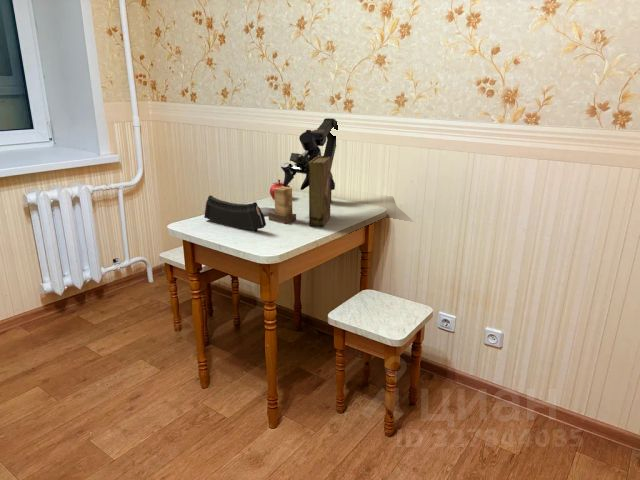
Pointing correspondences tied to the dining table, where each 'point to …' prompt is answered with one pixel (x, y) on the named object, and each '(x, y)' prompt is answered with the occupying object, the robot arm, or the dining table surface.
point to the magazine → (234, 214)
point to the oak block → (283, 200)
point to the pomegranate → (276, 187)
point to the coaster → (267, 211)
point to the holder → (282, 218)
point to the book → (319, 190)
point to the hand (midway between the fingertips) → (292, 188)
